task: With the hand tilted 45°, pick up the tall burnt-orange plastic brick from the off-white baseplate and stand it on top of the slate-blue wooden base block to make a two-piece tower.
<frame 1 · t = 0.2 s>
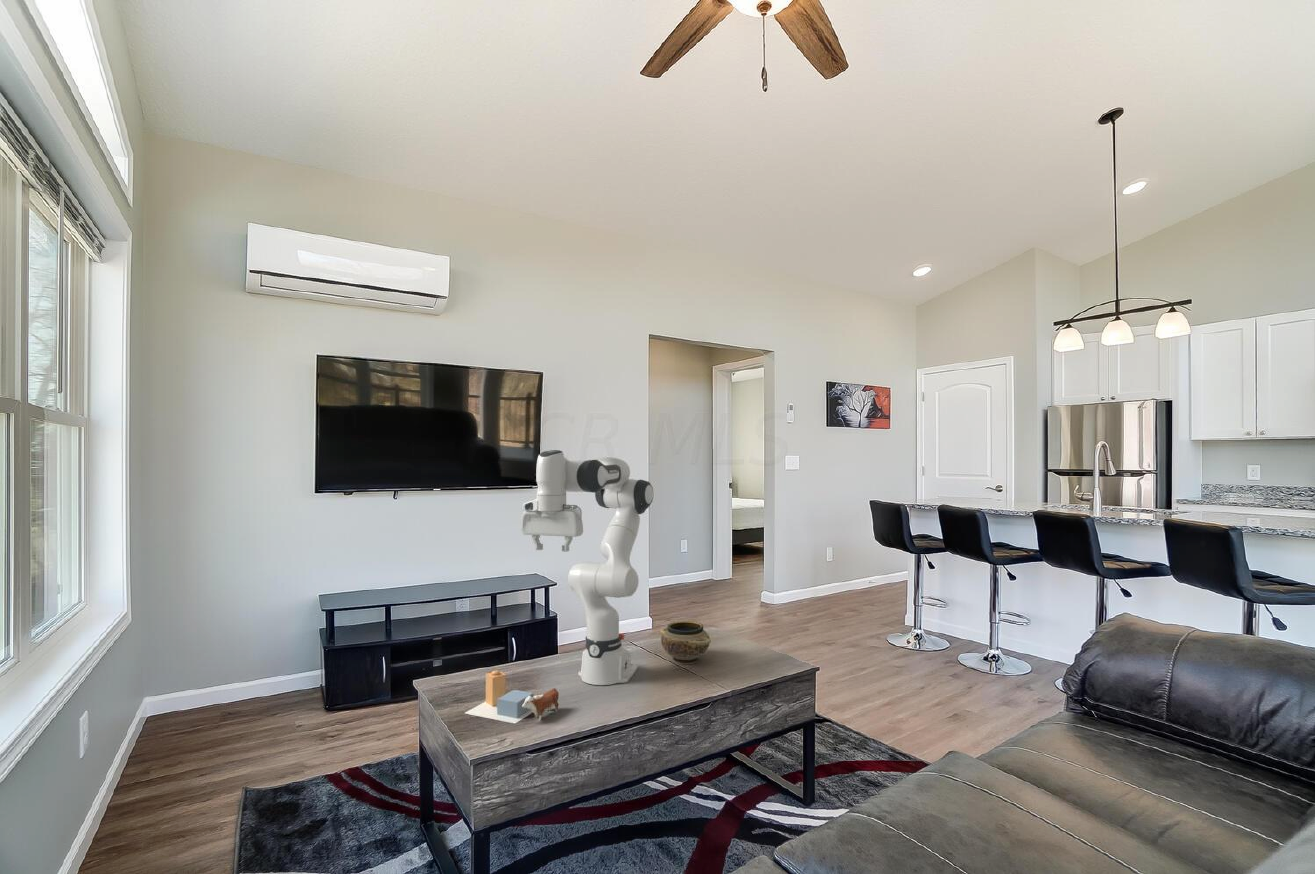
hand: (552, 550, 191), 48 cm above the table, tool pointing down, fingers open, 8 cm apart
baseplate: (507, 710, 191), on the table
base block: (515, 711, 188), point 1 cm above the table, touching baseplate
tall brick: (495, 702, 194), point 1 cm above the table, touching baseplate
ceramic bowl: (685, 660, 237), on the table
bull figurine: (542, 720, 185), on the table
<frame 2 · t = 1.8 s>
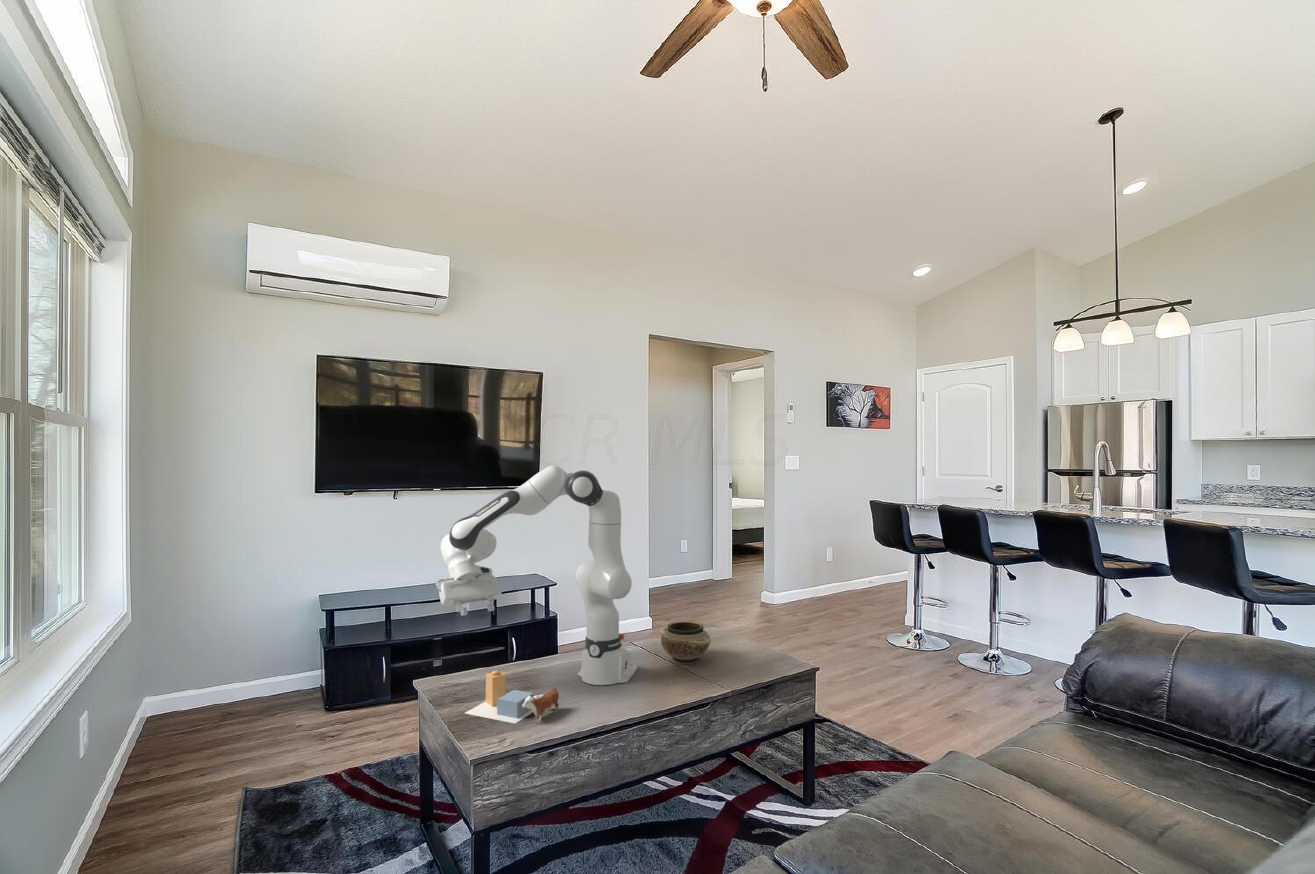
hand: (478, 612, 203), 26 cm above the table, tool tilted 45°, fingers open, 8 cm apart
nothing on the table moved.
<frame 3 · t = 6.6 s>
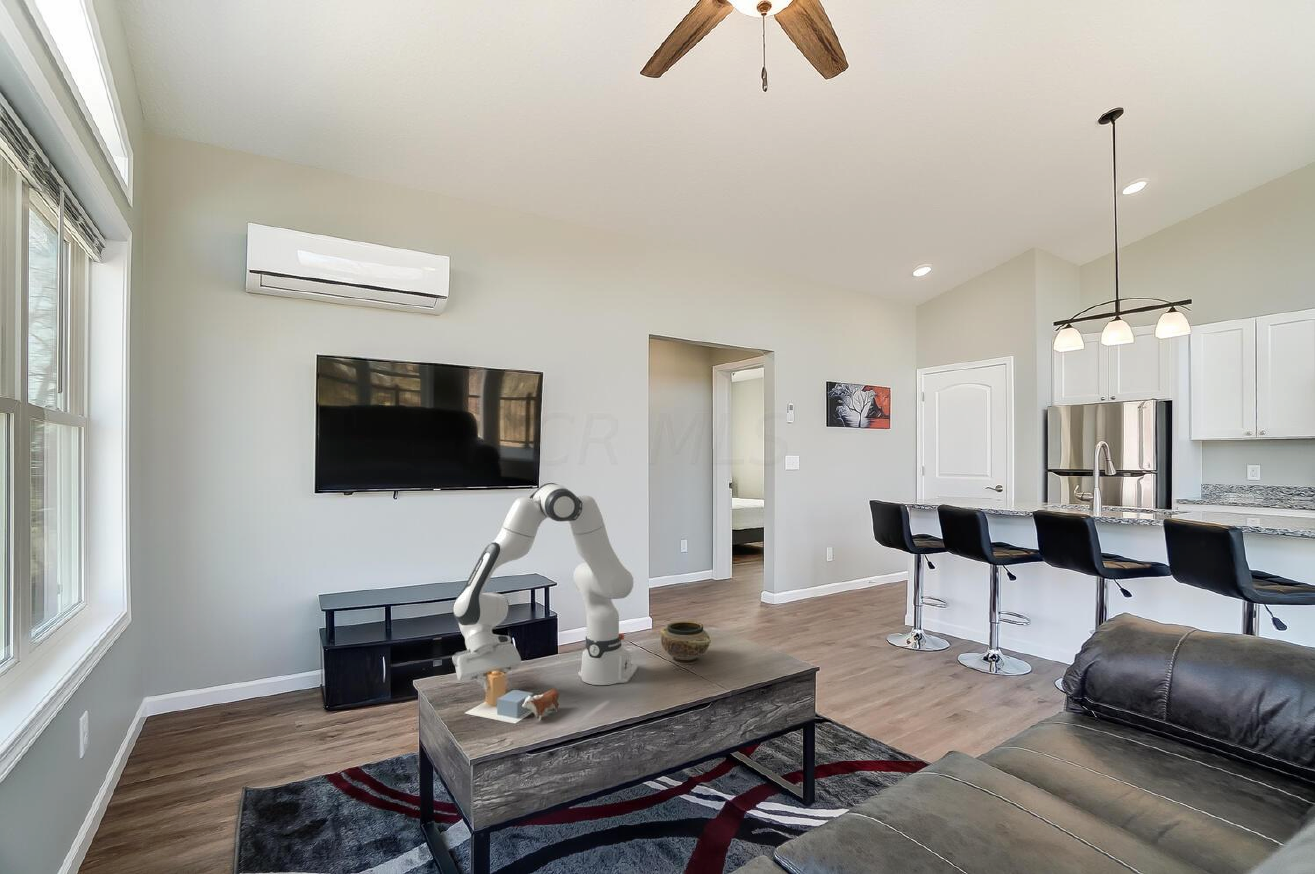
hand: (496, 686, 194), 6 cm above the table, tool tilted 45°, fingers closed on tall brick, 4 cm apart
tall brick: (495, 702, 194), point 1 cm above the table, touching baseplate, gripper
everything else where it was.
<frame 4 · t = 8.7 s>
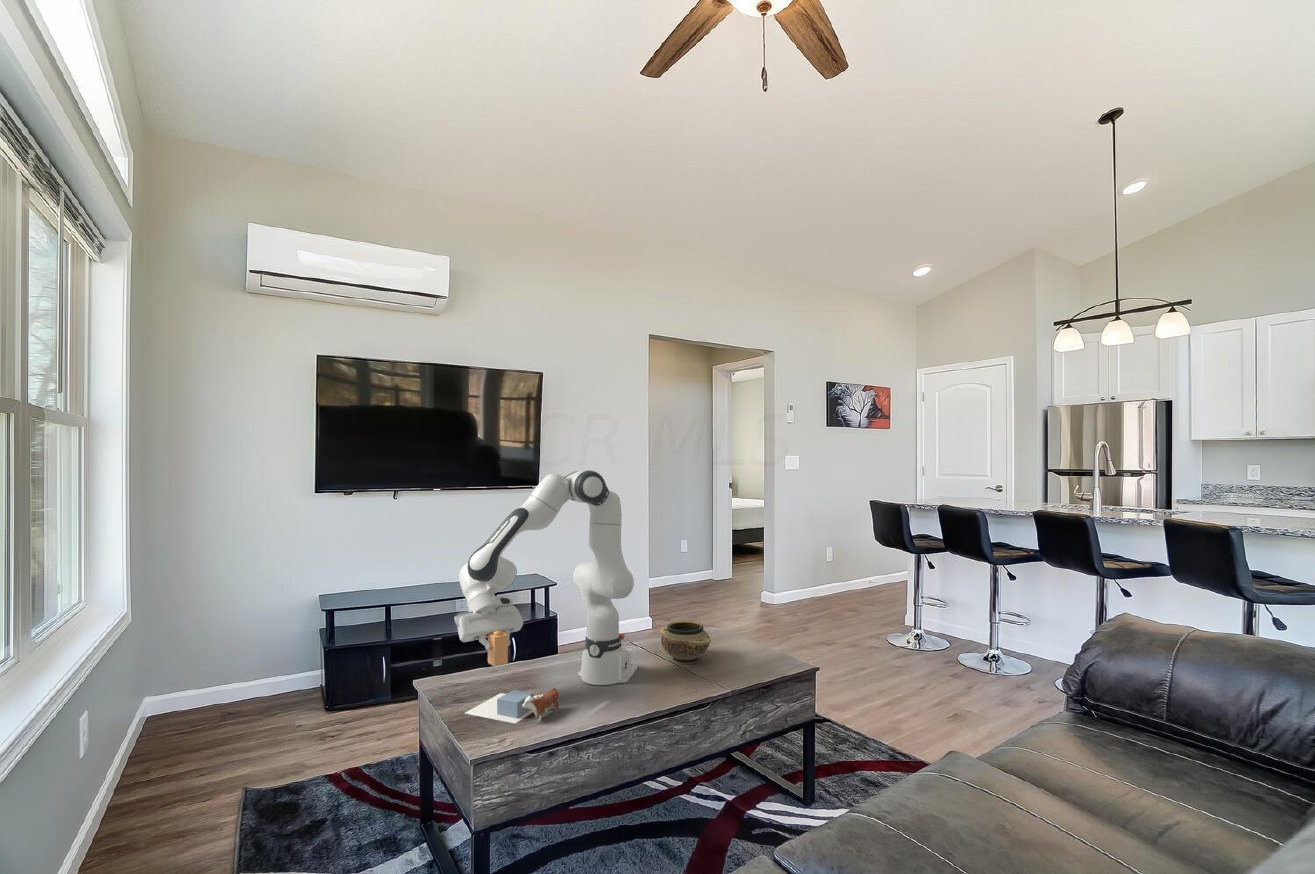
hand: (498, 646, 194), 18 cm above the table, tool tilted 45°, fingers closed on tall brick, 4 cm apart
tall brick: (497, 662, 194), point 13 cm above the table, touching gripper
everything else where it was.
when the fingers open (12 cm above the table, at t = 10.8 s): tall brick drops 1 cm, resting on base block.
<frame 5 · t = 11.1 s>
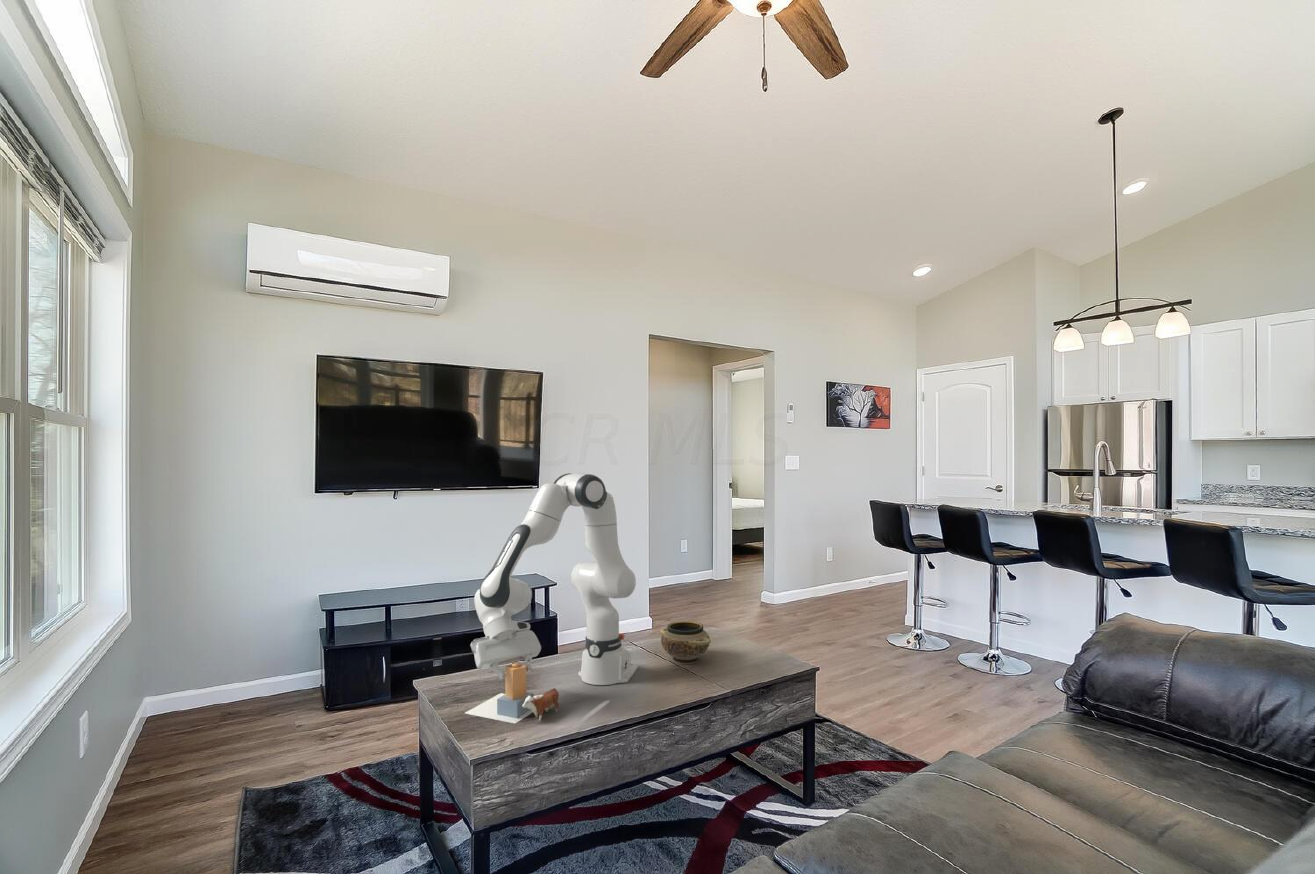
hand: (516, 674, 188), 12 cm above the table, tool tilted 45°, fingers open, 7 cm apart
base block: (515, 711, 188), point 1 cm above the table, touching baseplate, tall brick
tall brick: (515, 695, 188), point 5 cm above the table, touching base block
everything else where it was.
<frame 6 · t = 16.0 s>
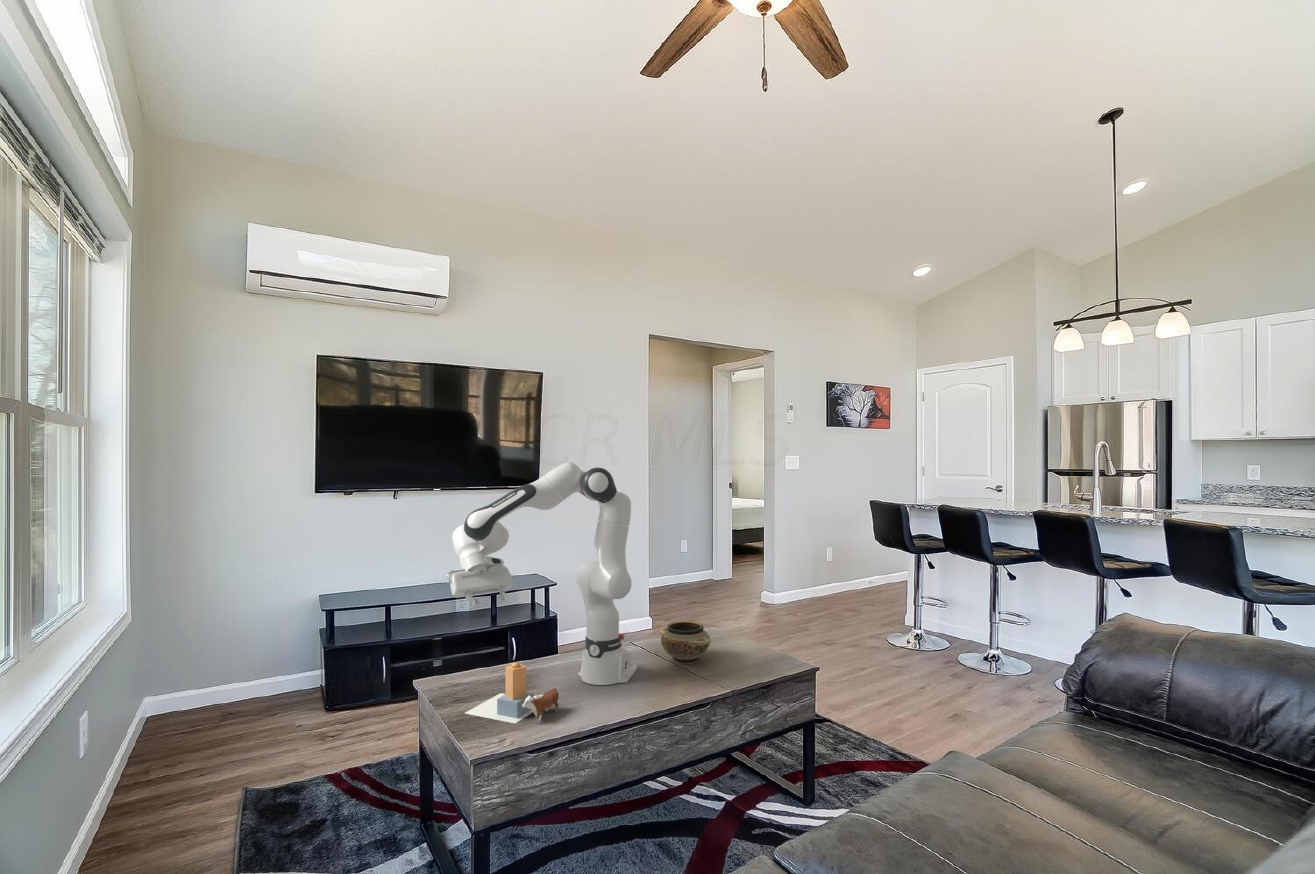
hand: (489, 602, 203), 29 cm above the table, tool tilted 45°, fingers open, 8 cm apart
nothing on the table moved.
at the end: tall brick 0.1 cm off-centre on the base block, point 4.5 cm above the base block's base; tall brick tilted 0°; tall brick touching base block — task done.
